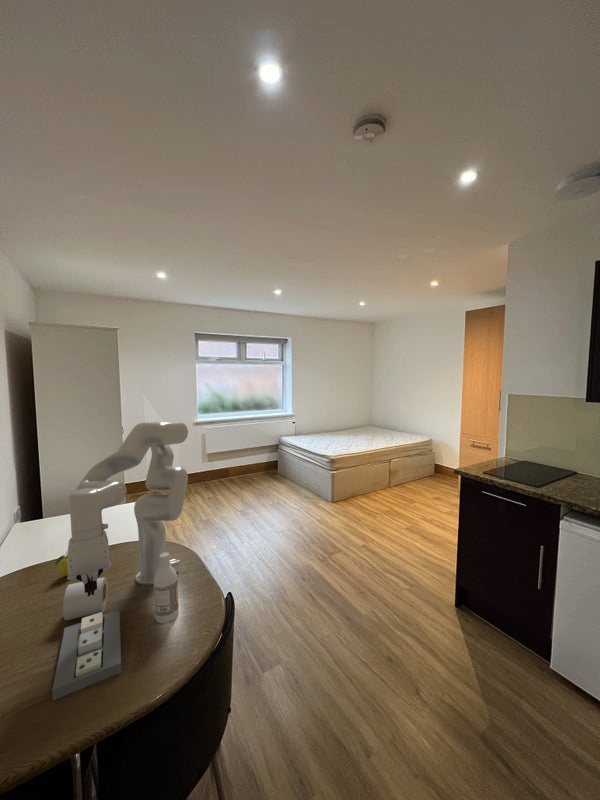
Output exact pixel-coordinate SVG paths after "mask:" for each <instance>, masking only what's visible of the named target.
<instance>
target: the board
mask: <svg viewBox="0 0 600 800" xmlns="http://www.w3.org/2000/svg"><path fill="white" fill-rule="evenodd" d="M81 623H82V621H81V622H79V623H75V624H73V625H69V626H66V627H64V630H63V635H62V640H61V645H60V649H59V650H60V651H59V655H58V659H57V660H58V661H57V664H56V670H55V675H54V678H53V679H54V680H53V686H52V690H51V692H52V694H51V695H52V701H55V700H57V699H60V698H62V697H65V696H67V695H70V694H72V693H75V692H78V691H79V690H82V689H84V688H87V687H89V686H92V685H94V684H97V683H98V682H101V681H104V680H107V679H109V678H111V677H114V676H115V675H116V676H117V675H118V674H121V673H122V649H121V648H122V647H121V646H122V644H121V617H120V609H118V610H115V611H112V612H109V613H106V614H103V630H102V643H103V644H102V648H99V649H96V650H93V651H91V652H88V653H85V654H82V655H80V656H79V653H78V645H79V638H80V635H81ZM100 649H101V652H102V668H99V669H97V670H94V671H92V672H89V673H87V674H84V675H82V676H79V677H77V678H76V666H77V659H78V657H81V656H84V655H87V654H89V653H92V652H95V651H97V650H100Z"/></svg>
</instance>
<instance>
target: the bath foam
mask: <svg viewBox="0 0 600 800" xmlns="http://www.w3.org/2000/svg"><path fill="white" fill-rule="evenodd" d="M159 558H160V567H159V569H158V571H157V572H156V574H155V577H154V584H153V602H154V618H155V621H156V622H157V623H158V624H167V623H170V622H172V621H174V620H175V619H176V618H177V617H178V616H179V612H180V611H179V610H180V609H179V607H180V605H179V589H178V587H179V585H178V583H179V582H178V575H177V572H176V569H175V568H174V567H172V566H171V565H170V560H171V557H170V552H167V551H166V552H165V553H162V554H160V556H159Z"/></svg>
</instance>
